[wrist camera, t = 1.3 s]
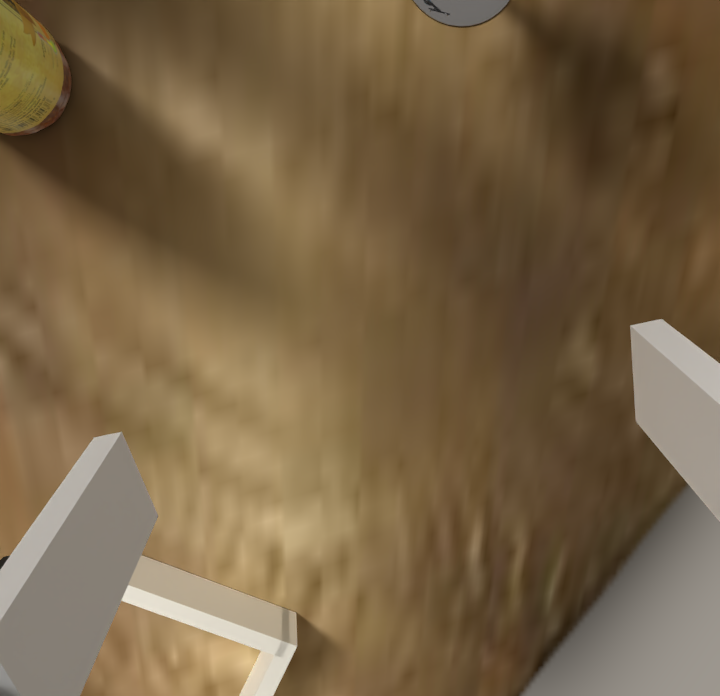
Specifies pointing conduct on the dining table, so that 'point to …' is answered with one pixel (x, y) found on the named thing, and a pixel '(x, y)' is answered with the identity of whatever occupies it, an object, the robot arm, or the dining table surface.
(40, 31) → the sauce bottle
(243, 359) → the dining table surface
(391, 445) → the dining table surface
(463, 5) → the wine glass
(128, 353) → the dining table surface
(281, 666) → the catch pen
